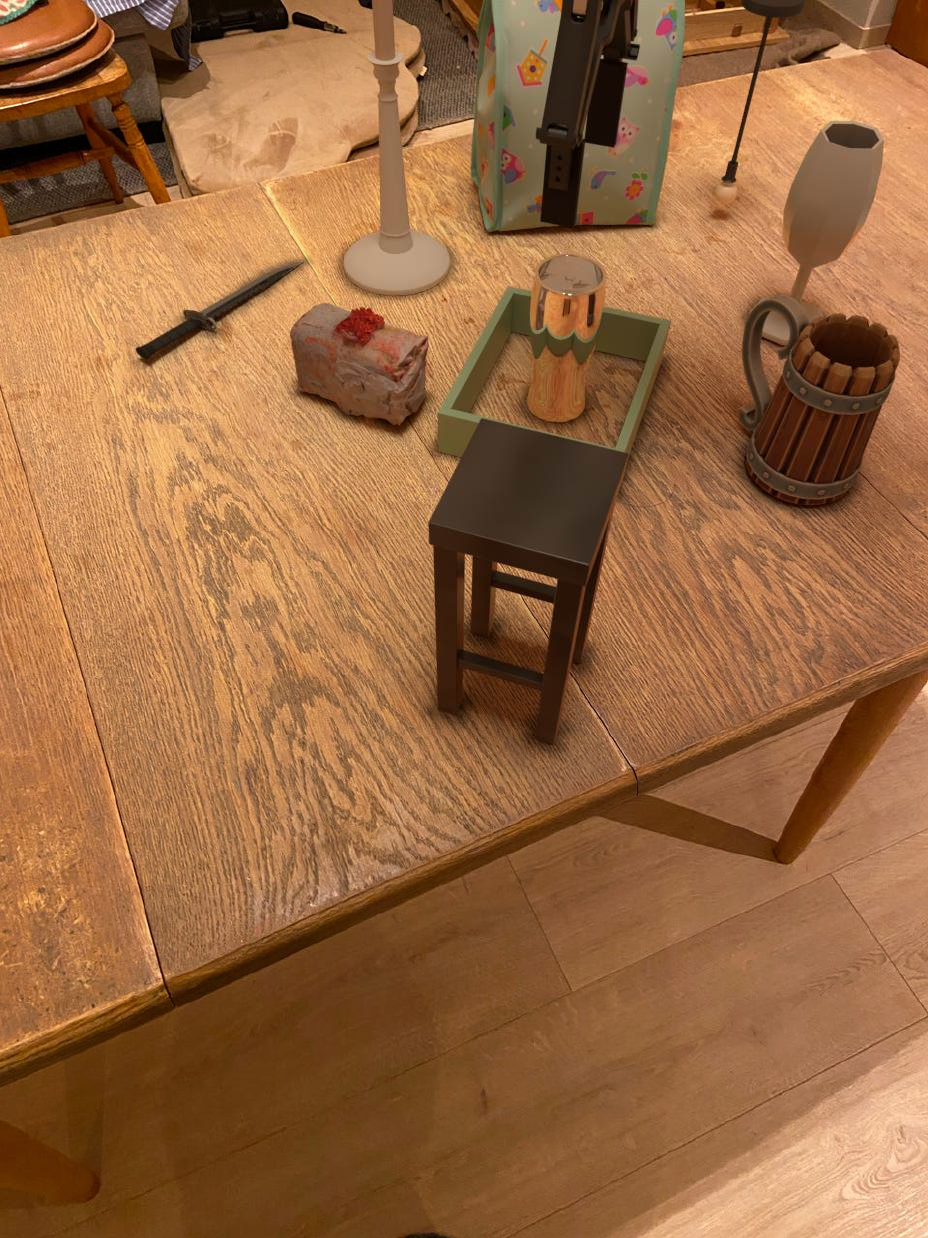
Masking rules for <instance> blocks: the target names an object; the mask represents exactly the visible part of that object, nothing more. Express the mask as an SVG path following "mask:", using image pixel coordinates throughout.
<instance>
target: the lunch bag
mask: <svg viewBox="0 0 928 1238" xmlns="http://www.w3.org/2000/svg"><path fill="white" fill-rule="evenodd" d="M561 9H562V0H482V4H481V8H480V12H479V16H478V22H477V27H476V38H477V41H478V42H479V43H478V51H477V53H478V54H477V63H476V83H475V99H474V102H475V103H474V115H473V125H472V126H473V127H472V138H471V152H470V153H471V156H470V158H471V159H470V175H471V176H470V177H471V180H472V181H473V183H474V185H475V186H476V187H477V188H478V191H477V194H478V200H479V206H480V210H481V215H482V220H483V224H484V227H485V230H486V231H487V232H489V233H493V232H495V231H499V232H507V231H518V230H527V229H528V230H530V229H537V228H546V227H547V228H548V227H549V228H550V227H552V228H553V227H560V225H555V224H550V223H545V222H540V218H541V206H542V194H543V182H544V171H545V159H546V147H547V144H541V143H540V141H539V140H538V139H536V128H537V127H538V128H541V126H542V120H543V115H544V109H545V103H546V98H547V92H548V86H549V81H550V75H551V69H552V64H553V58H554V52H555V47H556V41H557V35H558V29H559V24H560V18H561ZM637 30H638V31H637V36H636V37H635V39H634V41H633V42H632V41H631V43H633V44H639V45H640V49H639V54H638V58H637V60H636V61H635V60H629V59H623V60H622V62H626V63H628V65H627V72H626V79H625V86H624V93H623V100H622V107H621V113H620V120H619V127H618V134H617V141H616V145H615V147H614V148H612V147H607V146H601V145H596V144H590V143H585V148H584V157H583V165H582V174H581V182H580V191H579V199H578V207H577V216H576V223H575V225H574V226H582V225H585V226H587V225H589V226H598V225H599V226H610V225H612V226H614V225H615V226H616V225H617V226H618V225H645V226H652V225H654V223H655V221H656V216H657V210H658V206H659V200H660V196H661V191H662V188H663V182H664V176H665V171H666V166H667V161H668V154H669V147H670V139H671V129H672V123H673V116H674V108H675V99H676V93H677V87H678V83H679V78H680V71H681V65H682V61H683V56H684V47H685V38H686V37H685V36H686V35H685V34H686V31H685V30H686V0H639V1H638V18H637ZM603 56H604V55H601V59H603ZM586 121H587V118H586ZM585 130H586V122H585V126H584V130H583V139H584V138H585Z"/></svg>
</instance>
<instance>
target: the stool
mask: <svg viewBox="0 0 928 1238" xmlns="http://www.w3.org/2000/svg"><path fill="white" fill-rule="evenodd" d="M628 460H629V457H628V453H625V452H621V451H617V450H613V449H608V448H604V447H600V446H596V445H592V444H588V443H583V442H579V441H575V440H571V439H567V438H563V437H559V436H554V435H550V434H546V433H542V432H538V431H534V430H529V429H525V428H521V427H517V426H513V425H509V424H504V423H500V422H496V421H492V420H488V419H484V418H481V420H480V421H479V423H478V425H477V427H476V429H475V431H474V433H473V435H472V437H471V439H470V441H469V443H468V445H467V447H466V449H465V451H464V453H463V455H462V457H460V459H459V461H458V463H457V465H456V467H455V469H454V470H453V473H452V475H451V477H450V479H449V481H448V483H447V485H446V486H445V489H444V490H443V492H442V495H441V497H440V499H439V501H438V503H437V505H436V506H435V509H434V510H433V513H432V514H431V516H430V518H429V520H428V522H427V524H428V528H427V529H428V544H429V545H431V546H432V553H433V554H432V555H433V557H432V558H433V589H434V590H433V591H434V623H435V624H434V625H435V656H436V657H435V658H436V659H435V661H436V693H437V695H436V696H437V710H438V711H442V712H445V713H448V714H452V715H455V716H456V715H458V712H459V710H460V708H461V705H462V702H463V699H464V670H466V671H469V672H473V673H477V674H480V675H484V676H487V677H490V678H494V679H497V680H500V681H504V682H507V683H511V684H514V685H518V686H521V687H524V688H528V689H531V690H534V691H537V692H540V696H539V702H538V709H537V714H536V715H537V716H536V723H535V728H534V729H535V730H534V737H533V739H534V740H536V741H539V742H542V743H546V744H549V745H554V744H555V742H556V739H557V736H558V733H559V730H560V725H561V720H562V714H563V710H564V704H565V699H566V694H567V689H568V683H569V678H570V672H571V667H572V663H574V664H578V665H580V664H581V662H582V660H583V657H584V654H585V650H586V647H587V642H588V638H589V631H590V627H591V622H592V617H593V612H594V607H595V602H596V597H597V593H598V588H599V584H600V579H601V574H602V568H603V565H604V564H603V563H604V559H605V554H606V549H607V544H608V540H609V535H610V530H611V526H612V521H613V515H614V510H615V506H616V501H617V499H618V496H619V492H620V489H621V486H622V483H623V480H624V477H625V473H626V470H627V464H628ZM466 555H467V556H471V558H472V559H471V595H470V597H471V598H470V599H471V600H470V633H471V634H475V635H477V636H481V637H485V638H489V637H490V634H491V631H492V630H493V627H494V625H495V612H496V611H495V610H496V597H497V589H499V590H503V591H506V592H509V593H513V594H517V595H519V596H524V597H527V598H531V599H534V600H538V601H542V602H546V603H549V604H553V607H552V613H551V621H550V628H549V635H548V641H547V648H546V655H545V662H544V669H543V672H541V671H538V670H534V669H530V668H527V667H523V666H520V665H517V664H514V663H510V662H507V661H504V660H500V659H496V658H493V657H490V656H488V655H483V654H479V653H476V652H473V651H470V650H466V649H464V647H465V646H464V645H465V644H464V643H465V587H466V586H465V583H466V582H465V580H466V579H465V576H466ZM499 564H501V565H504V566H508V567H511V568H515V569H518V570H523V571H527V572H530V573H534V574H537V575H541V576H545V577H549V578H552V579H556V586H555V585H551V584H547V583H544V582H541V581H536V580H533V579H530V578H525V577H522V576H518V575H514V574H511V573H507V572H504V571H500V570H498V565H499Z"/></svg>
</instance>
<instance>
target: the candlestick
mask: <svg viewBox="0 0 928 1238" xmlns="http://www.w3.org/2000/svg"><path fill="white" fill-rule="evenodd" d="M393 1H394V0H371V7H372V9H371V10H372V23H373V24H372V25H373V38H374V51H371V52H369V54H367V60H368V61H369V63H371V64H372V65H373V71H372V74H373V77H374V78H375V79H376V80H377V85H378V87H379V92H378V93H377V96H376V97H377V100H378V101H377V104H378V105H377V107H378V109H377V110H378V157H379V158H378V159H379V161H378V163H379V221H380V223H379V225H380V226H379V230H377V231H374V232H371V233H369V234H366V235H364V236H362V237H361V238H359V239H358V240H356V241H355V242H354V243H353V244H351V246H349V248H348V249H347V250H346V252H345V253H344V257H343V269H344V274H345V275H346V277H347V279H349V281H350V282H351V283H353V284H354V285H355V286H356V287H358V288H360V289H362V290H364V291H366V292H370V293H373V294H376V295H383V296H393V297H395V296H396V297H397V296H408V295H414V294H418V293H421V292H424V291H428V290H429V289H432V288H433V287H435V286H437V285H438V284H440V283H441V282H442V281H443V280H444V279H445V278H446V277H447V276H448V274H449V272H450V269H451V257H450V254H449V251H448V250H447V248H446V247H445V245H443V243H442V242H440V241H439V240H438V239H436V238H435V237H433V236H431V235H429V234H426V233H425V232H421V231H419V230H414V229H411V225H410V215H409V207H408V194H407V186H406V185H407V184H406V175H405V174H406V173H405V164H404V163H405V162H404V154H403V144H402V132H401V123H400V112H399V102H398V101H399V100H398V99H399V94H398V93H397V92H396V83H397V79H398V78H399V76H400V68H399V64H400V63H401V62H402V61H403V59H404V54H403V53H402V52H400V51H399V50H396V43H395V41H396V40H395V26H394V25H395V22H394V21H395V19H394V3H393Z"/></svg>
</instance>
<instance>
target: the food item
mask: <svg viewBox="0 0 928 1238" xmlns="http://www.w3.org/2000/svg"><path fill="white" fill-rule="evenodd" d="M289 338H290V340H291V350H292V355H293V361H294V366H295V371H296V378H297V385H298V386H297V387H298V389H299V391H300V392H306V393H308V394H313V395H318V396H319V397H320V398H323V399H326V400H329V401H332V402H333V403H336V404H337V406H338V407H339V409H340V410H341V412H342V413H344V414H345V415H347V416H350V415H352V416H356V417H359V416H362V415H363V416H364V417H366V418H369V419H383V420H386V421H387V422H389V423H390V424H391V425H392V426H396V425H398V426H399V427H400V426H401V424H402V423H404V421H405V419H406V418H407V417H408V416H411V415H412V414H413V413H417V412H418V410H419V409H420V406H421V405H422V403H423V402H424V401H425V400H426V398H427V396H426V395H427V393H426V392H427V390H426V381H427V374H426V367H427V355H428V350H429V346H430V345H429V336H428V335H422V334H416V332H412V331H411V330H408V329H404V328H401V327H398V326H394V325H391V324H388V323H387V322H385V316H382V315H380V314H378V313H375V312H374V311H373V309H372V308H371V307H367V308H366V306H364V307H363V306H359V308H358V307H356V308H355V309H354V308H352V309H351V311H350V310H347V309H345V308H342V307H340V306H338V305H337V306H336V305H334V304H332V303H331V302H330V303H329V302H322V303H319V304H316V305H314V306H312V307H311V308H310V309H309V310H307V312H305V313H303V315H302V316H301V317H299V319H297V320H296V321H295V323H294V324H293V325H292V326H291V329H290V331H289Z"/></svg>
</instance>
